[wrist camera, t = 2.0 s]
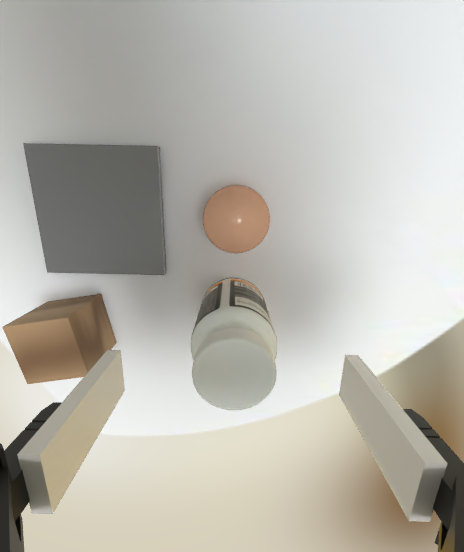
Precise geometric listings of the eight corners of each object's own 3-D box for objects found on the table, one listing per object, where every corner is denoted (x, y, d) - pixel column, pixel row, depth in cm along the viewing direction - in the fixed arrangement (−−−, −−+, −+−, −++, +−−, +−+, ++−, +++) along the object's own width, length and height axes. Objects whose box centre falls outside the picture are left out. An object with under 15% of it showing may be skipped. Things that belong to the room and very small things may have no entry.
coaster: (29, 144, 20) (23, 143, 20) (159, 147, 20) (157, 146, 20) (52, 270, 23) (47, 272, 22) (165, 273, 23) (164, 274, 22)
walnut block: (48, 301, 24) (2, 327, 19) (101, 293, 24) (67, 317, 19) (66, 349, 25) (27, 384, 21) (116, 342, 25) (89, 376, 20)
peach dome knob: (209, 187, 21) (202, 184, 17) (264, 188, 21) (271, 185, 17) (209, 242, 22) (203, 252, 18) (261, 243, 22) (267, 253, 18)
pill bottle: (216, 342, 25) (205, 430, 15) (192, 288, 23) (164, 350, 14) (273, 322, 24) (298, 402, 15) (252, 266, 23) (265, 315, 13)
